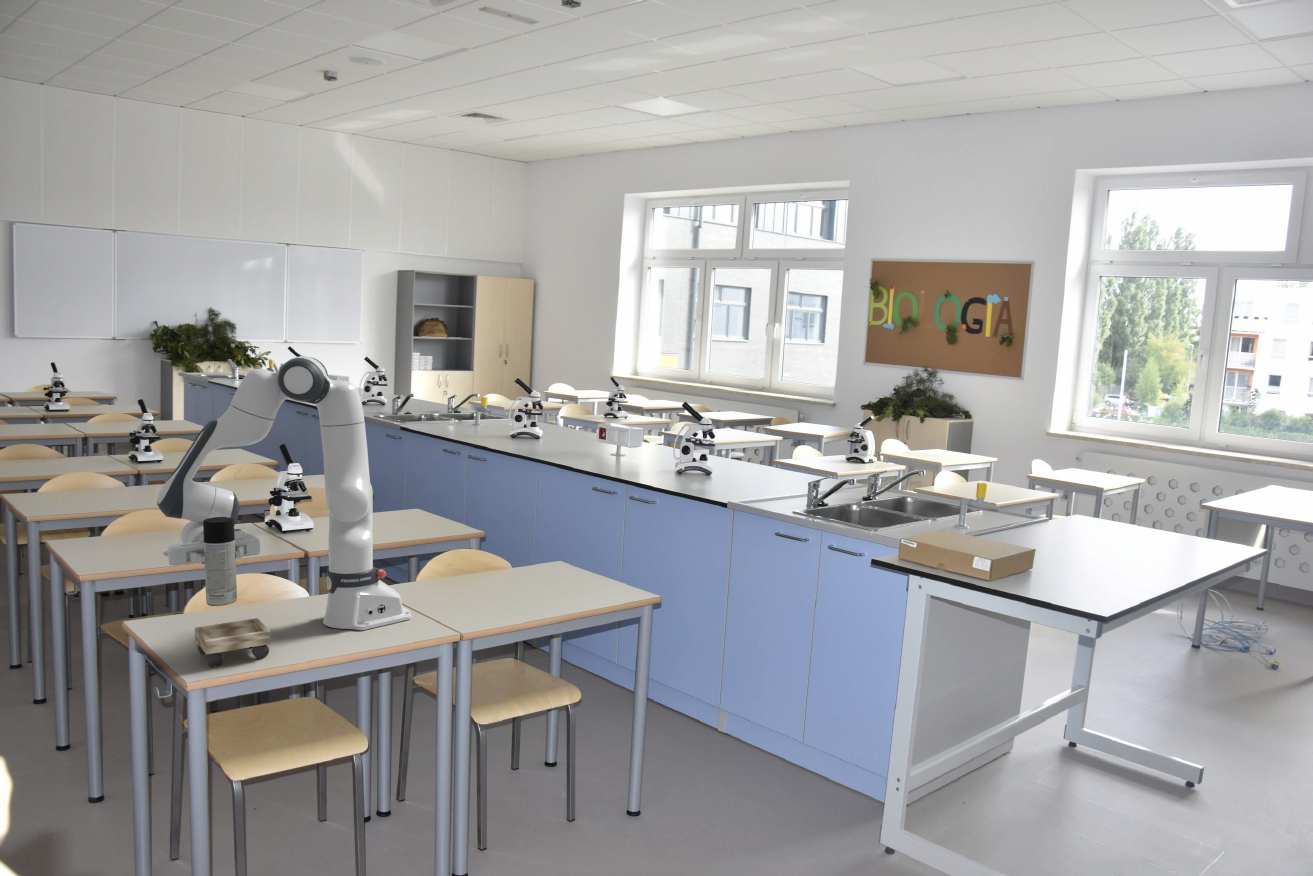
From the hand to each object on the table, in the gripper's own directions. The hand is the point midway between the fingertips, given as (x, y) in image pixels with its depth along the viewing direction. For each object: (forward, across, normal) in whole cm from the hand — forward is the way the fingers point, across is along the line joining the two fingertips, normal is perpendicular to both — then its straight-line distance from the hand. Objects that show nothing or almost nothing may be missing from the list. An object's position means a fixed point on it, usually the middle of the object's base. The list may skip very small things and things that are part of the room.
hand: (220, 557), depth 222 cm
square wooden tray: (+3, +1, +23) cm, 24 cm away
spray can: (-1, 0, +11) cm, 11 cm away
